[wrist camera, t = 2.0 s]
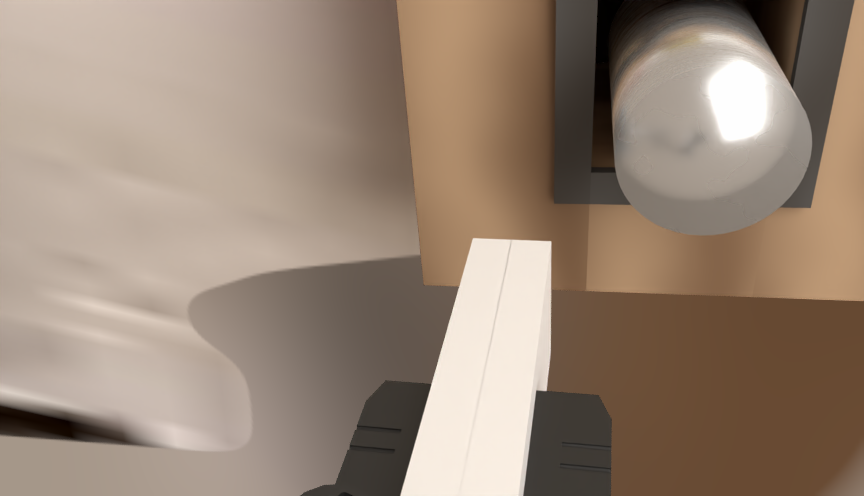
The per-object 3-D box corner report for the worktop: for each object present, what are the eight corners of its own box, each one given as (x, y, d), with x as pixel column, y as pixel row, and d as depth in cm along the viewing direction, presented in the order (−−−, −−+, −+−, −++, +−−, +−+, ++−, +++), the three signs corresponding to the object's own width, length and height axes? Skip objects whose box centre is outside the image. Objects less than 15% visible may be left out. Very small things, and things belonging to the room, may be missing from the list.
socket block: (458, 165, 39) (421, 291, 30) (435, -214, 30) (374, -190, 21) (858, 169, 35) (944, 310, 27) (960, -254, 27) (1134, -245, 18)
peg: (604, 105, 30) (610, 233, 22) (611, -27, 27) (619, 66, 20) (740, 105, 29) (793, 237, 21) (760, -32, 26) (829, 63, 19)
